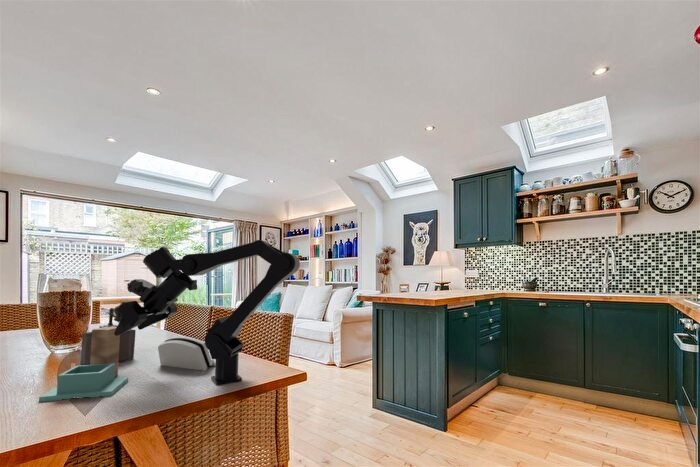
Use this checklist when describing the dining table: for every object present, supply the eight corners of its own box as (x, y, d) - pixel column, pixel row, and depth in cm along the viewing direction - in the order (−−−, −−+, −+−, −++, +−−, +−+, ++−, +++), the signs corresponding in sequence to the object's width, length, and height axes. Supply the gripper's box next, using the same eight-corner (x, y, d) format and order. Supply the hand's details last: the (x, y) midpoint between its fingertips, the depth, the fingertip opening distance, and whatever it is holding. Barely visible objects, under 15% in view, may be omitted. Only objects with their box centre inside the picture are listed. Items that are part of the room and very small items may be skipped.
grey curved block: (216, 365, 107) (209, 335, 105) (206, 375, 103) (198, 344, 100) (173, 361, 112) (165, 332, 110) (161, 370, 108) (153, 340, 106)
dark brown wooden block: (76, 365, 108) (80, 304, 110) (110, 356, 119) (113, 301, 121) (116, 368, 104) (120, 306, 106) (147, 359, 115) (150, 302, 116)
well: (127, 381, 92) (129, 361, 93) (111, 395, 82) (112, 373, 82) (64, 385, 89) (66, 365, 89) (38, 401, 78) (40, 378, 79)
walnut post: (117, 375, 97) (120, 326, 99) (105, 380, 93) (108, 329, 94) (101, 375, 98) (104, 326, 99) (88, 380, 93) (92, 329, 95)
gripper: (169, 268, 107) (131, 306, 106) (126, 269, 88) (81, 314, 88) (193, 295, 105) (155, 333, 105) (156, 301, 87) (109, 347, 87)
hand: (127, 331), depth 96 cm, fingers open, 9 cm apart
